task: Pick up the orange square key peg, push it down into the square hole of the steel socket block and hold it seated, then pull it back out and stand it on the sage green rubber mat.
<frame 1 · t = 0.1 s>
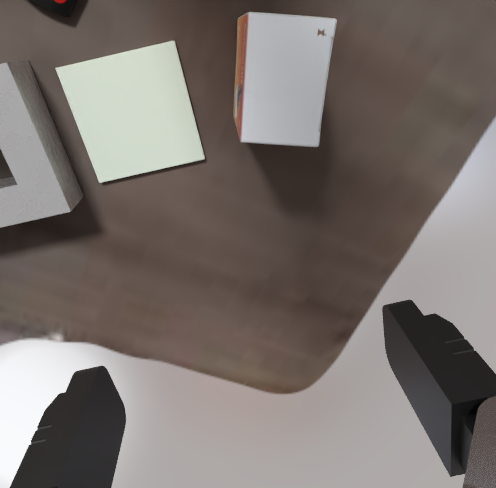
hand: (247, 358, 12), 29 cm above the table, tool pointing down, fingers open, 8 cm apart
mat: (135, 115, 37), on the table
small box: (266, 72, 36), on the table
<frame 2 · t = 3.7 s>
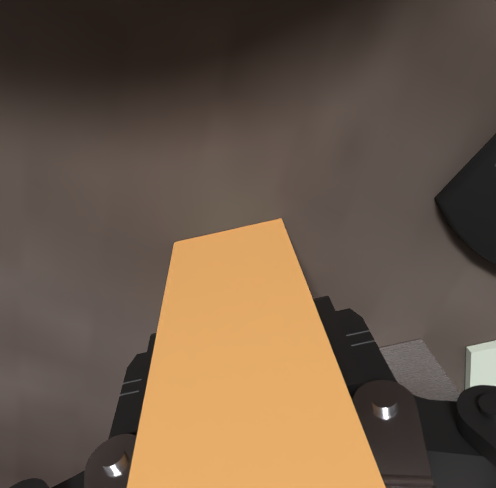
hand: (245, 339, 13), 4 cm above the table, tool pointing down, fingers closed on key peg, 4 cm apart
socket block: (305, 457, 21), on the table
key peg: (239, 276, 16), on the table, touching gripper
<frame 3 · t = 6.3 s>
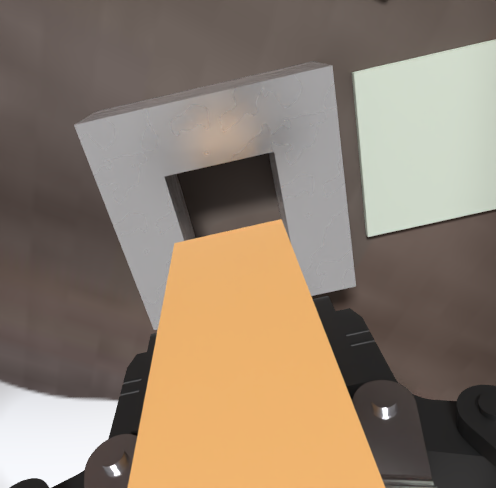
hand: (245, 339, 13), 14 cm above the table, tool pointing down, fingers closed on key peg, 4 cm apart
mat: (442, 142, 25), on the table
socket block: (228, 190, 25), on the table
key peg: (239, 277, 16), point 10 cm above the table, touching gripper
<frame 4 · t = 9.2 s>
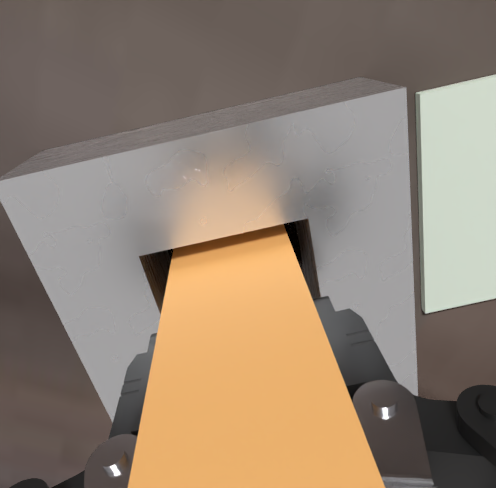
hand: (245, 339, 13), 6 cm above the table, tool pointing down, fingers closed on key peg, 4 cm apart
socket block: (235, 254, 18), on the table
key peg: (239, 277, 16), point 2 cm above the table, touching gripper
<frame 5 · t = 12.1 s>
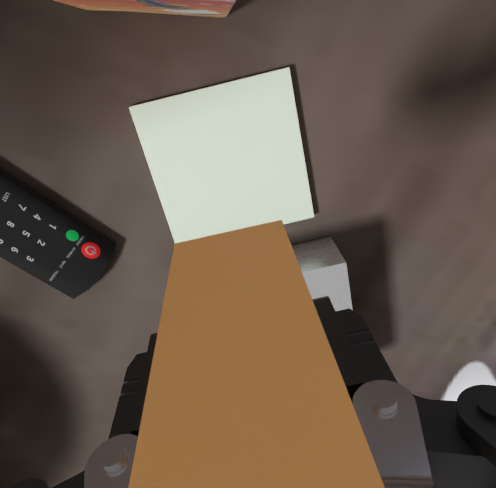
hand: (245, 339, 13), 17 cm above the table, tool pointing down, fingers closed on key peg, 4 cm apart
mat: (228, 164, 28), on the table
socket block: (267, 319, 33), on the table
key peg: (239, 277, 16), point 13 cm above the table, touching gripper
when the fingers open (6 cm above the table, at t = 14.6 s): key peg drops 2 cm, resting on mat.
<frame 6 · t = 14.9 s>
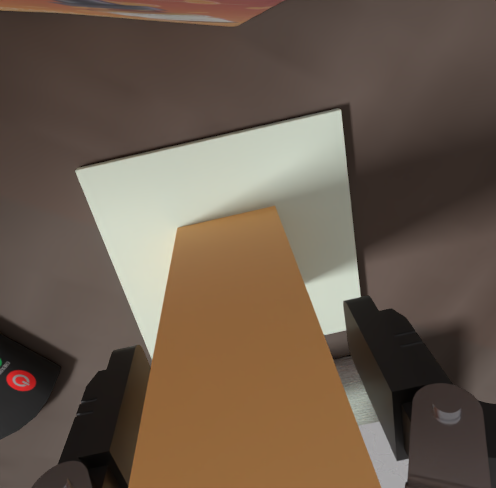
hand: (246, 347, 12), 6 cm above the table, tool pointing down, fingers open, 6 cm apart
mat: (236, 253, 18), on the table
socket block: (286, 452, 24), on the table
key peg: (237, 259, 17), resting on mat
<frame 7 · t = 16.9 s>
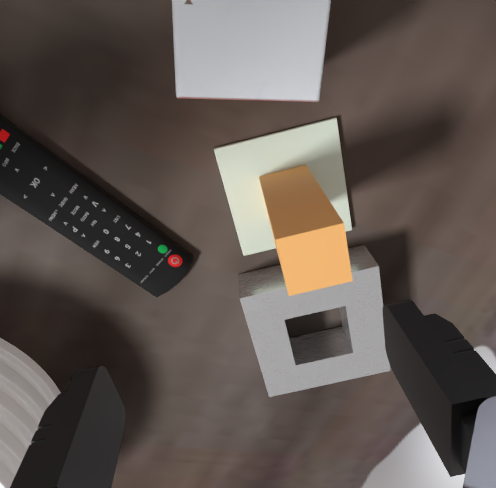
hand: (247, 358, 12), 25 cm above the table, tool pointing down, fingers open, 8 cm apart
mat: (286, 190, 36), on the table
socket block: (311, 310, 41), on the table
small box: (240, 41, 31), on the table
remote control: (69, 195, 36), on the table
key peg: (286, 192, 35), resting on mat
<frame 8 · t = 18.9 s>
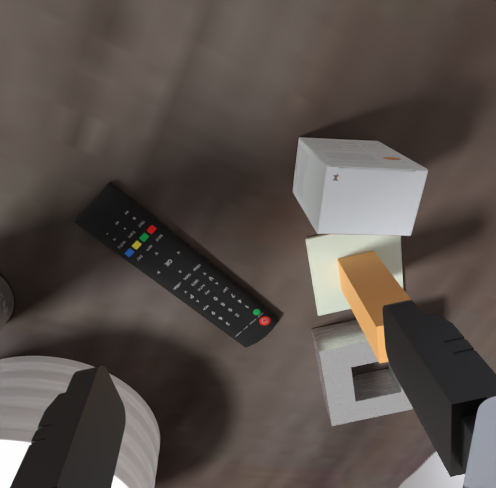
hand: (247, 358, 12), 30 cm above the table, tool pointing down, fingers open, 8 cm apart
mat: (355, 268, 46), on the table
socket block: (365, 356, 52), on the table
small box: (334, 165, 41), on the table
plate stack: (51, 437, 54), on the table
remote control: (187, 269, 45), on the table
key peg: (357, 270, 46), resting on mat
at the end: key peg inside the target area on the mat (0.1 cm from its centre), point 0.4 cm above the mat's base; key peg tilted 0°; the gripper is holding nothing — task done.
